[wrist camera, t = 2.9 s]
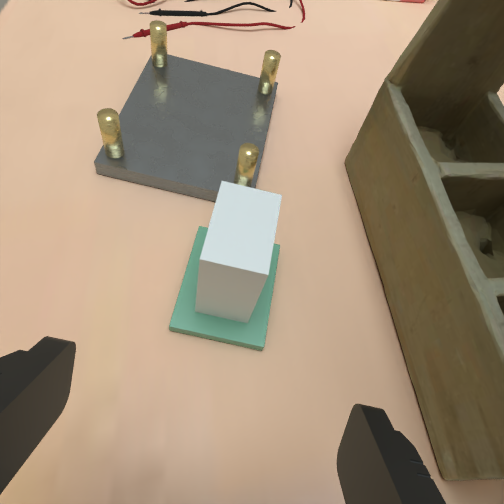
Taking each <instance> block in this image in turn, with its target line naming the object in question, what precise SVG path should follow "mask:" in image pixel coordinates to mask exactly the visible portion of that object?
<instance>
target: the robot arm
mask: <svg viewBox="0 0 504 504" xmlns="http://www.w3.org/2000/svg"><path fill="white" fill-rule="evenodd" d="M75 352H76V344H75V342H72V341H67V340H63V339H58V338H53V337H49V336H46V337H44V338H43V339H42V340H40V341H39V342H38V343H37V344H36V345H35V346H33V347H32V348H31V349H30V350H29V351H23V350H18V351H16V352H13V353H11V354H8V355H6V356H3V357H1V358H0V494H1V493H2V492H3V490H4V489H5V488H6V486H7V485H8V484H9V482H10V481H11V480H12V478H13V477H14V476H15V474H16V473H17V472H18V470H19V469H20V468H21V466H22V465H23V464H24V462H25V461H26V460H27V458H28V457H29V456H30V454H31V453H32V452H33V451H34V449H35V448H36V447H37V445H38V444H39V443H40V441H41V440H42V439H43V437H44V436H45V435H46V433H47V432H48V431H49V429H50V428H51V427H52V425H53V424H54V423H55V421H56V420H57V419H58V417H59V416H60V415H61V413H62V411H63V409H64V407H65V405H66V403H67V400H68V397H69V393H70V387H71V380H72V373H73V366H74V359H75ZM337 472H338V476H339V480H340V484H341V488H342V491H343V495H344V499H345V503H346V504H446V502H445V501H444V499H443V497H442V495H441V493H440V492H439V490H438V488H437V486H436V484H435V483H434V481H433V479H431V478H430V476H431V475H430V474H429V472H428V470H427V468H426V466H425V465H423V461H422V459H421V457H420V456H419V454H418V452H417V450H416V448H415V447H414V445H413V444H412V443H411V442H410V441H409V440H408V439H407V438H406V437H405V436H404V435H403V434H402V433H401V432H400V431H396V430H394V428H393V426H392V424H391V422H390V420H389V418H388V417H387V415H386V413H385V411H384V410H383V409H380V408H375V407H371V406H366V405H362V404H355V405H354V406H353V408H352V411H351V413H350V416H349V419H348V422H347V425H346V428H345V431H344V434H343V437H342V440H341V443H340V446H339V449H338V454H337Z"/></svg>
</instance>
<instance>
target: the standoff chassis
mask: <svg viewBox="0 0 504 504" xmlns="http://www.w3.org/2000/svg"><path fill="white" fill-rule="evenodd" d="M150 37H151V52H152V55H151V57H150V58H149V60H148V62H147V64H146V66H145V68H144V70H143V72H142V73H141V75H140V77H139V79H138V81H137V83H136V85H135V87H134V88H133V90H132V92H131V94H130V96H129V98H128V100H127V101H126V103H125V105H124V107H123V109H122V111H121V113H120V115H119V116H118V113H117V112H116V111H115V110H113V109H109V108H107V109H102V110H100V111H99V112H98V114H97V118H98V122H99V126H100V131H101V135H102V140H103V146H102V148H101V150H100V152H99V154H98V156H97V158H96V159H95V161H94V164H95V167H96V171H97V174H100V175H104V176H109V177H113V178H117V179H121V180H125V181H130V182H134V183H138V184H142V185H146V186H151V187H155V188H159V189H163V190H167V191H172V192H176V193H180V194H184V195H188V196H193V197H197V198H201V199H205V200H209V201H214V202H216V199H217V196H218V192H219V189H220V185H221V182H222V181H226V182H230V183H234V184H238V185H242V186H246V187H250V188H255V186H256V181H257V177H258V172H259V167H260V163H261V158H262V154H263V149H264V145H265V140H266V135H267V131H268V126H269V122H270V117H271V113H272V108H273V104H274V99H275V94H276V90H277V85H278V83H277V82H275V78H276V74H277V70H278V66H279V62H280V57H281V55H280V54H279V53H278V52H277V51H274V50H268V51H266V52H265V56H264V61H263V65H262V70H261V75H260V78H258V77H254V76H250V75H246V74H242V73H238V72H234V71H230V70H226V69H222V68H219V67H215V66H211V65H207V64H203V63H199V62H195V61H191V60H187V59H183V58H179V57H176V56H172V55H168V54H167V28H166V24H165V23H164V22H162V21H152V22H151V23H150Z"/></svg>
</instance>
